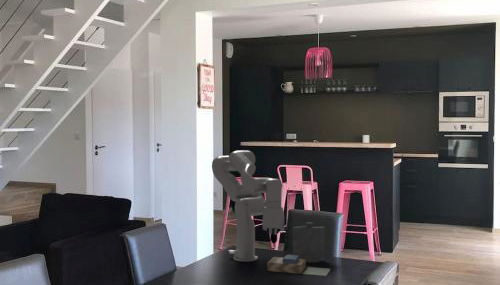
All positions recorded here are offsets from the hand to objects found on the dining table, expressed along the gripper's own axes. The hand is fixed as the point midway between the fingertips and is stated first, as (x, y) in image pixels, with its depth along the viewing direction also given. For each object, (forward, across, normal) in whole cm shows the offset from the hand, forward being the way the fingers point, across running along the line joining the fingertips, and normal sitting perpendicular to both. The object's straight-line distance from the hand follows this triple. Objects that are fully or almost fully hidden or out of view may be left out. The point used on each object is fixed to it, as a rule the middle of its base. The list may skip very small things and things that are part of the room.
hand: (273, 242), depth 260 cm
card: (+9, +8, 0) cm, 12 cm away
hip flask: (+13, +13, +20) cm, 27 cm away
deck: (+13, +6, +1) cm, 14 cm away
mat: (+13, +21, +1) cm, 24 cm away
